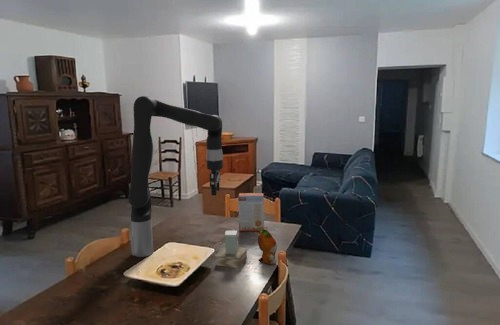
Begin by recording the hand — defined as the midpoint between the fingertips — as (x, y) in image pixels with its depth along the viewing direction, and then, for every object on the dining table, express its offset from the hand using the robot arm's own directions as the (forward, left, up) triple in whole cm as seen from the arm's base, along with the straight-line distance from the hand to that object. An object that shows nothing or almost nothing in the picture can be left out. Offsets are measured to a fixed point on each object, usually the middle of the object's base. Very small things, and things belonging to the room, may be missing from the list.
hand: (215, 192), depth 171 cm
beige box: (+8, -8, -30) cm, 33 cm away
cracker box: (+14, +33, -30) cm, 47 cm away
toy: (+24, -7, -30) cm, 39 cm away
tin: (+8, -8, -26) cm, 28 cm away
